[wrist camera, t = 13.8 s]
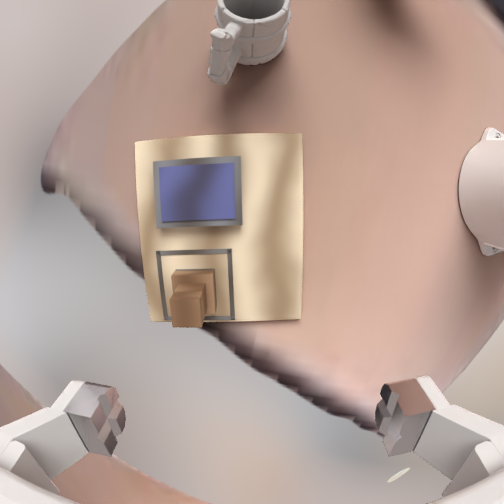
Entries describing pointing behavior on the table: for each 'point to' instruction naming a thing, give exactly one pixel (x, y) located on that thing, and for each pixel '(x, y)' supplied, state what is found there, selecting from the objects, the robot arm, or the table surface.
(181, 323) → the stamp
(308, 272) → the table surface
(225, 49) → the mug
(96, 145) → the table surface
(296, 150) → the board
